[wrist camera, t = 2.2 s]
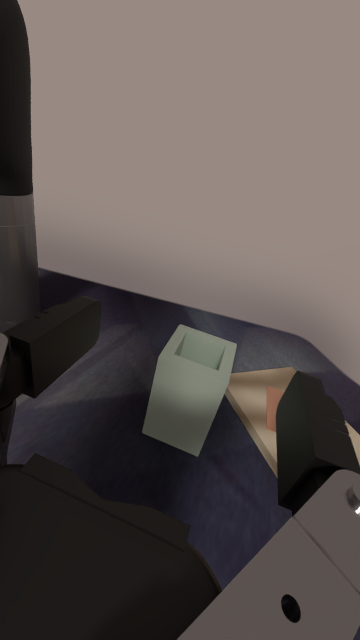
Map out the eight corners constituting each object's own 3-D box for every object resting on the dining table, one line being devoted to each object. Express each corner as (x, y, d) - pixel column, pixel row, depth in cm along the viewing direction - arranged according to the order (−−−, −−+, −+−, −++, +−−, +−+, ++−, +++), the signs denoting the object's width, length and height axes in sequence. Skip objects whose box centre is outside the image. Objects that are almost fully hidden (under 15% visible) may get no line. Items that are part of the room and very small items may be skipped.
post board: (216, 381, 36) (229, 348, 33) (288, 372, 41) (304, 344, 38) (298, 511, 23) (329, 477, 21) (385, 474, 29) (420, 443, 26)
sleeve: (141, 432, 27) (158, 356, 22) (162, 393, 32) (179, 324, 27) (197, 456, 26) (228, 382, 21) (209, 411, 31) (237, 344, 26)
